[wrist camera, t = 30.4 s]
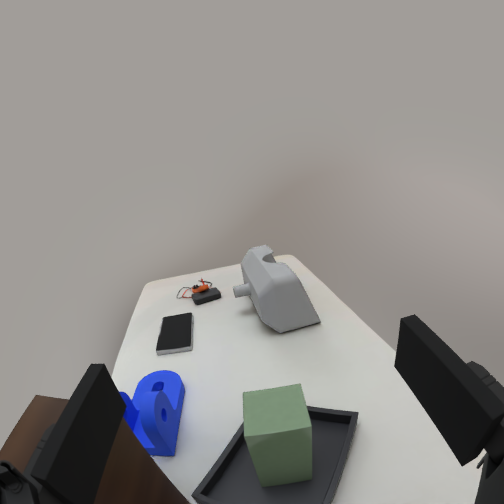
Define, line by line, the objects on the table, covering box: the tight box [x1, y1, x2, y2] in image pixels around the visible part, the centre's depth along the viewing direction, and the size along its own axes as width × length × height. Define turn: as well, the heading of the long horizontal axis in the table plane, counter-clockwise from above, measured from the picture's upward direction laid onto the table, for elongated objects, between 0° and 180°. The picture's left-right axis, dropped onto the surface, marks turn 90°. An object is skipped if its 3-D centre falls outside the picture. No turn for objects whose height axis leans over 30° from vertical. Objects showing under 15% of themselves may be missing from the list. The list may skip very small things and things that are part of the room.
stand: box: [0, 395, 191, 504], centre depth 16 cm, size 9×9×20 cm
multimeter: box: [177, 278, 221, 305], centre depth 84 cm, size 18×12×3 cm, turn 19°
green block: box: [243, 384, 312, 487], centre depth 26 cm, size 6×6×12 cm
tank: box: [233, 245, 321, 333], centre depth 67 cm, size 25×16×12 cm, turn 11°
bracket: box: [119, 370, 185, 456], centre depth 38 cm, size 18×8×9 cm, turn 4°
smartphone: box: [156, 313, 193, 355], centre depth 63 cm, size 8×1×15 cm
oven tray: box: [191, 406, 358, 504], centre depth 28 cm, size 15×19×3 cm
